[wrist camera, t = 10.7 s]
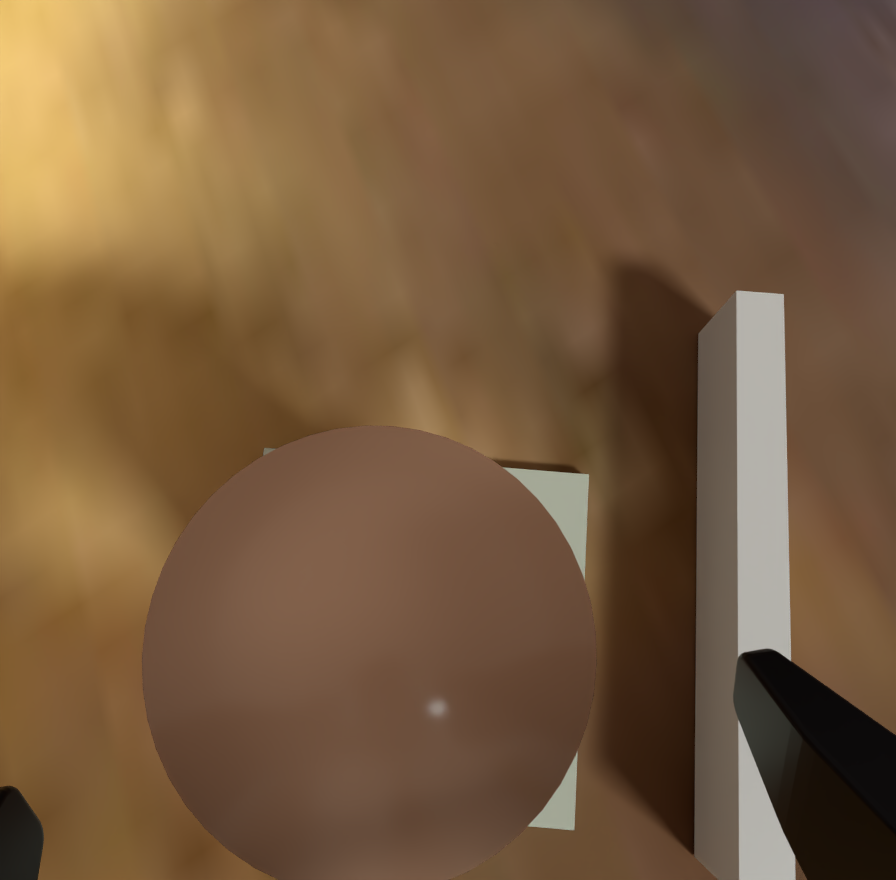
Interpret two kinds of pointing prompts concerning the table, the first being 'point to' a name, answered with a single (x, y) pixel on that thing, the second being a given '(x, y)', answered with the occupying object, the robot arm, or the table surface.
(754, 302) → the low wall
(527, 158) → the table surface
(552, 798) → the tile
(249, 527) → the tan round cylinder
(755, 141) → the table surface
